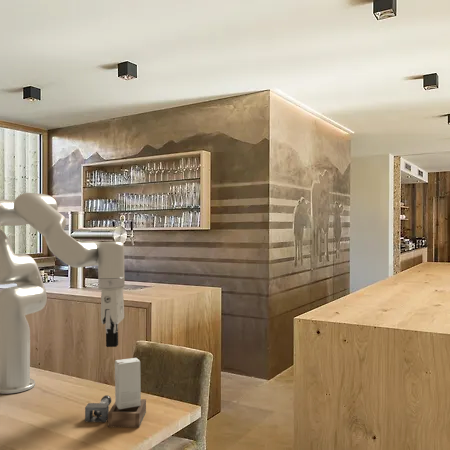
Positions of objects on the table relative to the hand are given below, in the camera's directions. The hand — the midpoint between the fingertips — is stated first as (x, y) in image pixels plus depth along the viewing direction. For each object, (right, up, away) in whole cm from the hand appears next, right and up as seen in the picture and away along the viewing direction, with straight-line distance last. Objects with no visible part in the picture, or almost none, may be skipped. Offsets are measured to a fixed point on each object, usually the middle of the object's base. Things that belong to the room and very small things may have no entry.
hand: (112, 346), depth 140 cm
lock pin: (-1, -16, -9) cm, 18 cm away
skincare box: (+7, -13, -14) cm, 20 cm away
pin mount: (-1, -16, -14) cm, 21 cm away
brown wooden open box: (+7, -16, -14) cm, 22 cm away
